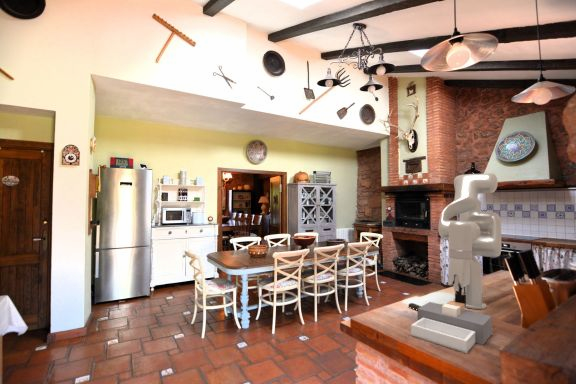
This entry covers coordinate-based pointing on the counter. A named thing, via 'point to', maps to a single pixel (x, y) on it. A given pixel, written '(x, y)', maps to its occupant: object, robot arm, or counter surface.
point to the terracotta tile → (458, 305)
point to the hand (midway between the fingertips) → (460, 305)
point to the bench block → (460, 320)
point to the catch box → (444, 334)
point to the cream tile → (451, 310)
